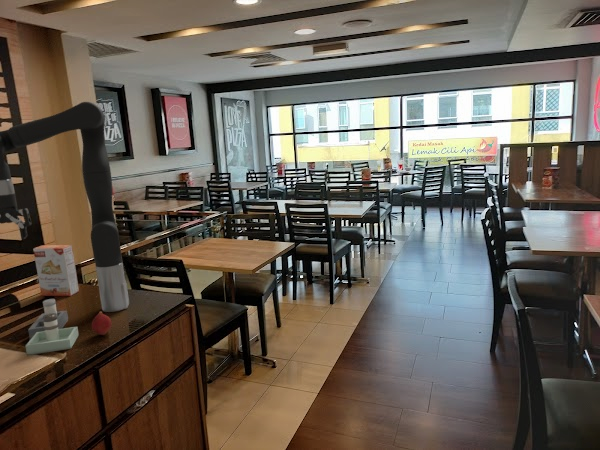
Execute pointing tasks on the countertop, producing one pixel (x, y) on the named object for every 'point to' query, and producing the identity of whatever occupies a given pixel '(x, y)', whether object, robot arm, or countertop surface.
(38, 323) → the block
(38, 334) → the parts tray
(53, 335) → the cylinder
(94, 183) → the robot arm
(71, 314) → the countertop surface
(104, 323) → the onion
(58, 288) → the cracker box
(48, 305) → the ball
